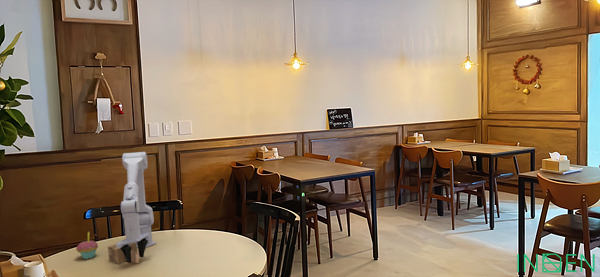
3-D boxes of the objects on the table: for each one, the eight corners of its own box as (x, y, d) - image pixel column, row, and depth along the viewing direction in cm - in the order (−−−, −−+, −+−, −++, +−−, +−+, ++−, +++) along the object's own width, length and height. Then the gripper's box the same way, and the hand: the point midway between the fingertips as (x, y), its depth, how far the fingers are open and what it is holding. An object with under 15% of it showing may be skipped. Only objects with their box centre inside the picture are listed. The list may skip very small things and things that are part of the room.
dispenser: (109, 260, 189) (107, 246, 188) (128, 253, 196) (127, 240, 195) (119, 264, 184) (117, 249, 183) (138, 256, 191) (137, 243, 191)
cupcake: (103, 254, 196) (100, 228, 195) (87, 262, 189) (84, 234, 187) (89, 252, 200) (86, 226, 198) (73, 259, 192) (70, 232, 191)
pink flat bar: (119, 257, 191) (118, 248, 190) (122, 256, 192) (121, 248, 191) (136, 262, 183) (135, 254, 183) (139, 261, 184) (138, 253, 184)
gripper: (121, 234, 175) (125, 267, 176) (153, 224, 186) (156, 255, 188) (111, 231, 179) (115, 264, 181) (143, 222, 191) (146, 252, 192)
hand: (135, 259), depth 185 cm, fingers open, 5 cm apart
